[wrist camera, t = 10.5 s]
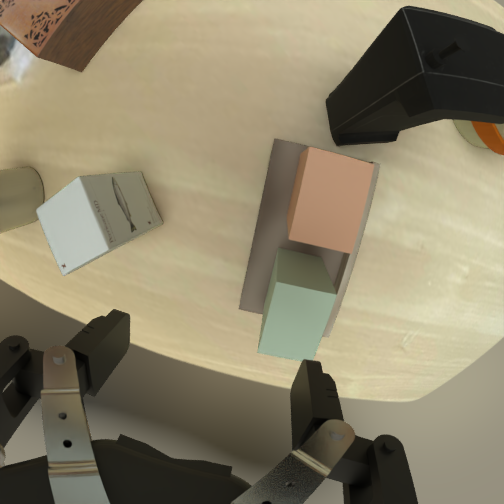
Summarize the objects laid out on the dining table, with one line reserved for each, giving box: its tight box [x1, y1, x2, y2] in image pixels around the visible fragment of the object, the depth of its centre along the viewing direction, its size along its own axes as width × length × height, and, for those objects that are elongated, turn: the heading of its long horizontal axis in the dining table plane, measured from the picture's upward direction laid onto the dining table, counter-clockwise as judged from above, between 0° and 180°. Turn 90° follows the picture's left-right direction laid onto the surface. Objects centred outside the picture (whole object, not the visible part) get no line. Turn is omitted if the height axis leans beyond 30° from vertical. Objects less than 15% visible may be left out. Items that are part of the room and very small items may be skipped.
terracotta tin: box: [287, 147, 374, 254], centre depth 25 cm, size 5×7×10 cm
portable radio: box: [326, 6, 504, 146], centre depth 17 cm, size 8×6×25 cm
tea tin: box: [257, 248, 337, 361], centre depth 28 cm, size 5×7×10 cm
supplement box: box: [36, 171, 163, 276], centre depth 28 cm, size 7×7×13 cm
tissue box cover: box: [0, 0, 143, 72], centre depth 21 cm, size 26×14×10 cm, turn 48°
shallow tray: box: [239, 139, 380, 338], centre depth 31 cm, size 11×20×4 cm, turn 169°
